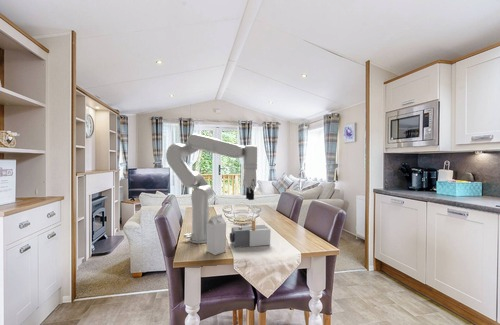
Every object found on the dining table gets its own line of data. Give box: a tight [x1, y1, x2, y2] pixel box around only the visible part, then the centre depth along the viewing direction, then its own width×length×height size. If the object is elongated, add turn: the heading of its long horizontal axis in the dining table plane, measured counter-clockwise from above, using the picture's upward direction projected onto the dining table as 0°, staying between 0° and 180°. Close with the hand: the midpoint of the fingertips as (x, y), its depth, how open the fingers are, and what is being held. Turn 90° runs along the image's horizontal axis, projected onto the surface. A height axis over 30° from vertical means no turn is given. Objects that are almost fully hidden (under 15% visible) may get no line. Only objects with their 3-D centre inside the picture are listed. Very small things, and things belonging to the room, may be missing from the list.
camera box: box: [229, 224, 271, 249], centre depth 151 cm, size 22×8×10 cm, turn 109°
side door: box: [248, 219, 271, 248], centre depth 148 cm, size 12×2×14 cm, turn 109°
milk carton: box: [206, 213, 227, 256], centre depth 138 cm, size 7×7×19 cm
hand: (249, 198), depth 153 cm, fingers open, 3 cm apart
